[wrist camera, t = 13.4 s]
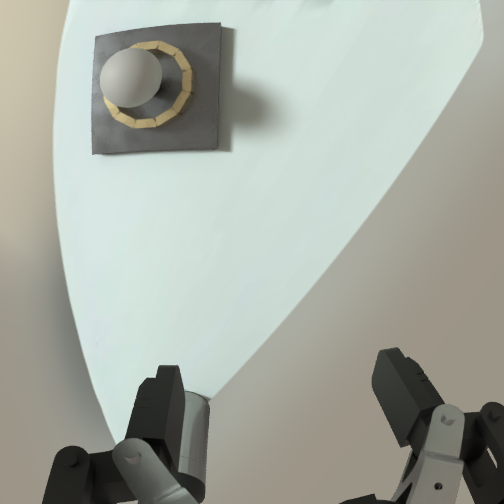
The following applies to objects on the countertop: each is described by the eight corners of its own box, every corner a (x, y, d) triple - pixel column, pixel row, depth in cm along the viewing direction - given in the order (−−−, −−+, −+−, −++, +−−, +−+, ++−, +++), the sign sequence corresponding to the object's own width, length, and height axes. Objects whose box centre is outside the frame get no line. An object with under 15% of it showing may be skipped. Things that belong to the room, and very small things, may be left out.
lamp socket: (217, 147, 37) (215, 149, 33) (97, 153, 36) (83, 156, 33) (221, 26, 31) (219, 15, 27) (100, 38, 30) (87, 32, 27)
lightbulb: (174, 58, 31) (150, 34, 21) (179, 105, 34) (156, 97, 23) (125, 69, 31) (87, 52, 21) (130, 115, 34) (92, 113, 23)
